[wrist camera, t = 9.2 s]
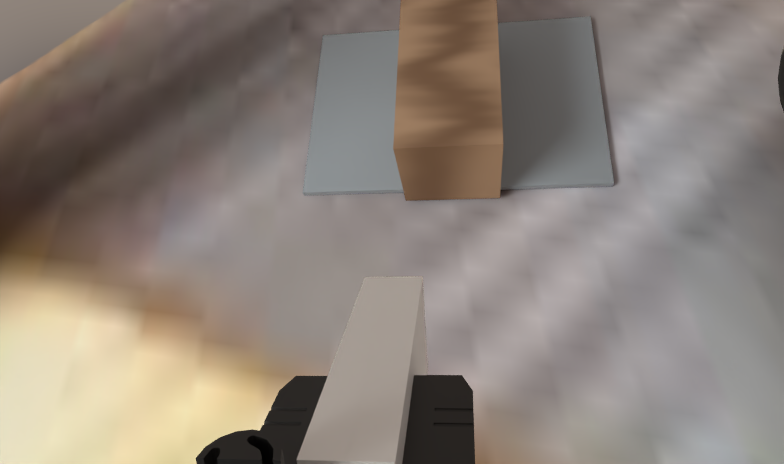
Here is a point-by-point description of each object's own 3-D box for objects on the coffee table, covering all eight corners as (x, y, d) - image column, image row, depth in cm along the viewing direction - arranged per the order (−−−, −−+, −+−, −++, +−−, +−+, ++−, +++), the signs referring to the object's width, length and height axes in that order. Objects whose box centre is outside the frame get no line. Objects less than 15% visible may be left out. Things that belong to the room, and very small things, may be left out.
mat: (304, 195, 39) (302, 192, 38) (324, 39, 45) (322, 35, 44) (612, 186, 36) (614, 183, 35) (589, 20, 42) (590, 16, 41)
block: (393, 148, 32) (402, -30, 38) (405, 200, 37) (412, 37, 43) (503, 143, 31) (494, -38, 37) (499, 197, 36) (492, 31, 42)
